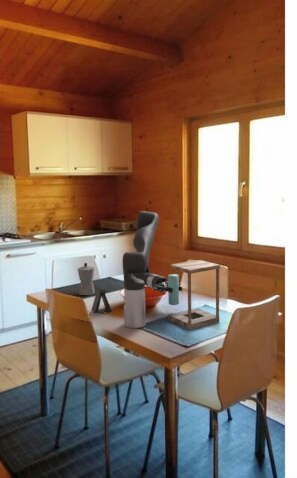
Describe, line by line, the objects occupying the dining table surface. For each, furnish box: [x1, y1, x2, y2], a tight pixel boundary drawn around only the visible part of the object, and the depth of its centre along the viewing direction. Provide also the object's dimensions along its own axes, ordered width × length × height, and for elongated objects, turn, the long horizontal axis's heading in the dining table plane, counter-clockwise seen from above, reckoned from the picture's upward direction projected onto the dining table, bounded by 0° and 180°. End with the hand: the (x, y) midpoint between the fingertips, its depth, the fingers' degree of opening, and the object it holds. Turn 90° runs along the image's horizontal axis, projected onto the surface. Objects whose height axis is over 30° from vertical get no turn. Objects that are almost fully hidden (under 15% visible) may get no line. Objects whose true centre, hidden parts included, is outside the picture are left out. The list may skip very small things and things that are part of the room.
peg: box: [167, 273, 180, 306], centre depth 211 cm, size 5×5×14 cm
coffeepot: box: [77, 262, 96, 296], centre depth 248 cm, size 15×9×18 cm, turn 12°
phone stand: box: [90, 286, 113, 314], centre depth 216 cm, size 9×6×12 cm, turn 111°
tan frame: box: [167, 259, 221, 331], centre depth 198 cm, size 16×17×27 cm
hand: (176, 289), depth 209 cm, fingers closed on peg, 5 cm apart
